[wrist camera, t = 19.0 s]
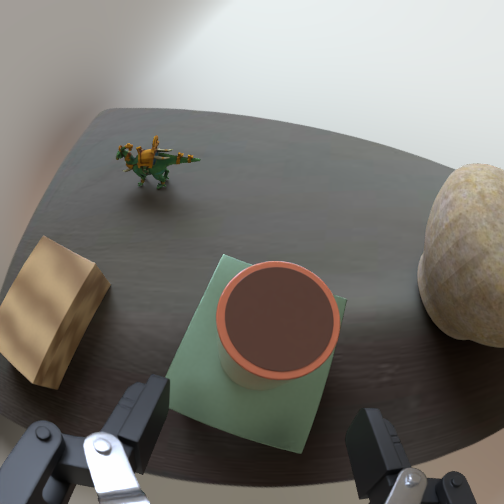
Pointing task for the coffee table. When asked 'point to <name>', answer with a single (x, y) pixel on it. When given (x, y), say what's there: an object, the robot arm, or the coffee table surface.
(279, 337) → the cup
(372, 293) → the coffee table surface
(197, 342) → the green miniature table
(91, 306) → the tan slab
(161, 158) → the figurine
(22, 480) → the robot arm
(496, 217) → the vase
